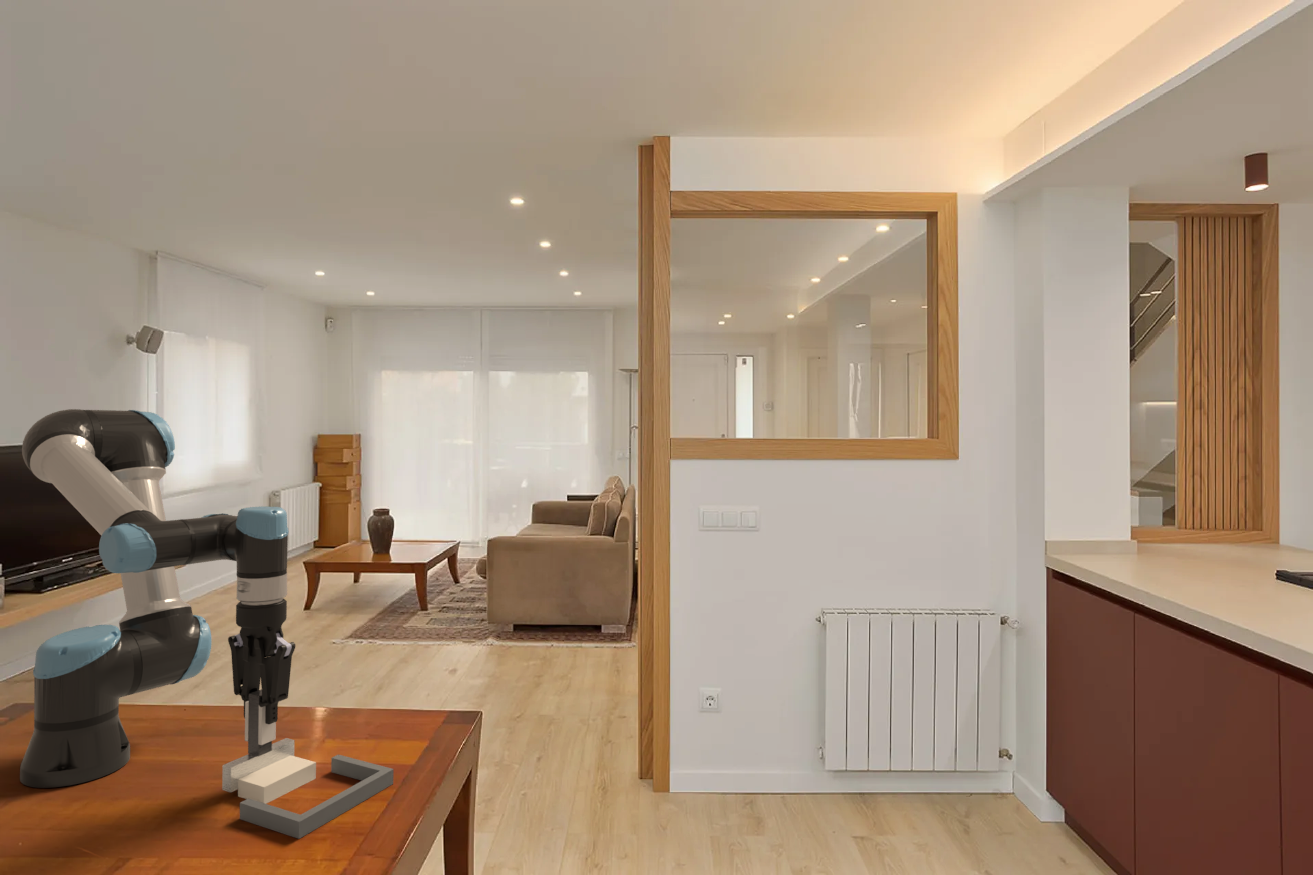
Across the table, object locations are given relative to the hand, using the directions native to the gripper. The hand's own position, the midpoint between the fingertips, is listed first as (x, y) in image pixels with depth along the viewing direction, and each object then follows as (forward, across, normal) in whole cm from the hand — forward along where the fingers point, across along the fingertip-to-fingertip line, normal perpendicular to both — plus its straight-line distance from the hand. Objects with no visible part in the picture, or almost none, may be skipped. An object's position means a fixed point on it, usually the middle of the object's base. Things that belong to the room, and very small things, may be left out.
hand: (260, 739), depth 127 cm
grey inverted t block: (+6, 0, 0) cm, 6 cm away
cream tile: (+8, +4, 0) cm, 9 cm away
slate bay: (+7, +14, 0) cm, 15 cm away
